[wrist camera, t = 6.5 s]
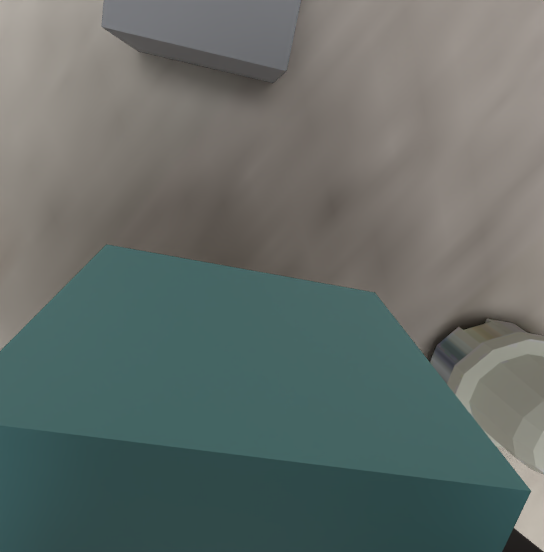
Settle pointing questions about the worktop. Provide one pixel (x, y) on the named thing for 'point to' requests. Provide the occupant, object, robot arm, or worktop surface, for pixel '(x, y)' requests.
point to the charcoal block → (210, 32)
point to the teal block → (235, 422)
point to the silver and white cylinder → (499, 384)
